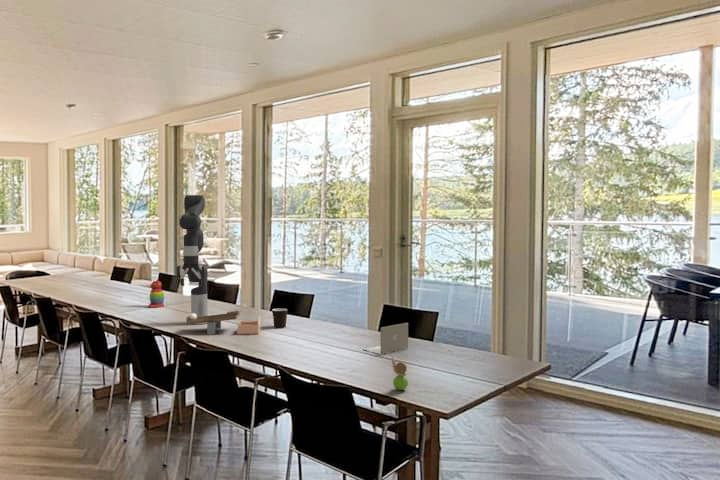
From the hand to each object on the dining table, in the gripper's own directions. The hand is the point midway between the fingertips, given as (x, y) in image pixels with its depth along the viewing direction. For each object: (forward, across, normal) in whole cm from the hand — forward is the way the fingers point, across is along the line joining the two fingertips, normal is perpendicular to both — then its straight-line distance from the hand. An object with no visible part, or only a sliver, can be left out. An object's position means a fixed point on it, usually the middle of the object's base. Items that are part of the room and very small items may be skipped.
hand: (191, 286), depth 298 cm
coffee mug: (+28, -43, -27) cm, 58 cm away
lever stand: (+27, -8, -16) cm, 32 cm away
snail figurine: (+25, -98, +90) cm, 135 cm away
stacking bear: (+29, +48, -98) cm, 113 cm away
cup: (+27, -27, -12) cm, 40 cm away
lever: (+21, -8, -16) cm, 28 cm away
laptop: (+27, -98, +28) cm, 105 cm away
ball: (+18, +2, -12) cm, 22 cm away
